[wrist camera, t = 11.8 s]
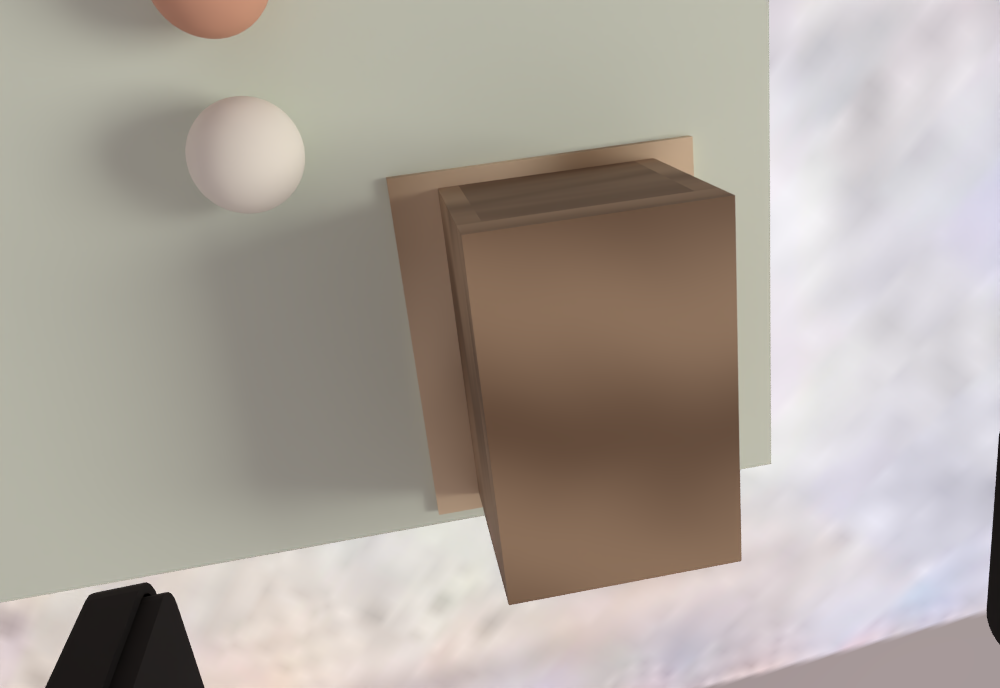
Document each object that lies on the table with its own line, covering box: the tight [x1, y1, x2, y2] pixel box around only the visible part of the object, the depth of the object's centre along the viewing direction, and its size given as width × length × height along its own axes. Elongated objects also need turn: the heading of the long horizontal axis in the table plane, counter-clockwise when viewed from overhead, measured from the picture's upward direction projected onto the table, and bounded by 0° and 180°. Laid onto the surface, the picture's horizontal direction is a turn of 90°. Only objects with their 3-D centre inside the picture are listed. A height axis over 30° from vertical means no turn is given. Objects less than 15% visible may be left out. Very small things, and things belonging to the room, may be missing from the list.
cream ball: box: [185, 96, 305, 214], centre depth 23 cm, size 3×3×3 cm
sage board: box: [0, 0, 771, 603], centre depth 26 cm, size 26×21×1 cm
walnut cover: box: [438, 158, 741, 605], centre depth 25 cm, size 10×6×6 cm, turn 7°
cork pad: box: [386, 135, 694, 515], centre depth 28 cm, size 9×11×1 cm
